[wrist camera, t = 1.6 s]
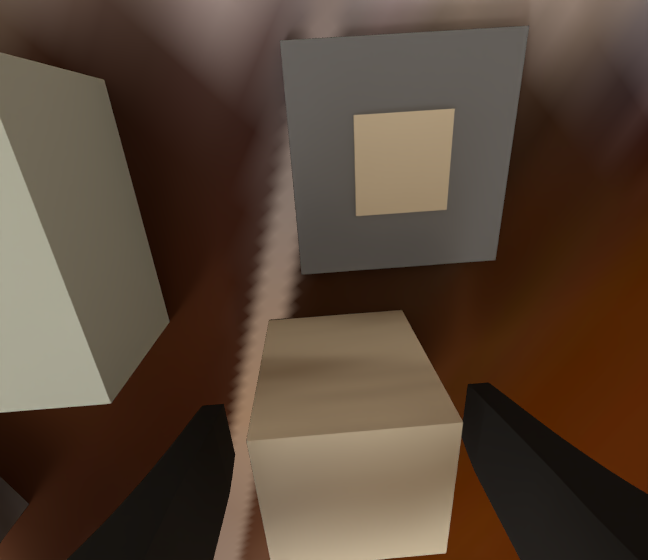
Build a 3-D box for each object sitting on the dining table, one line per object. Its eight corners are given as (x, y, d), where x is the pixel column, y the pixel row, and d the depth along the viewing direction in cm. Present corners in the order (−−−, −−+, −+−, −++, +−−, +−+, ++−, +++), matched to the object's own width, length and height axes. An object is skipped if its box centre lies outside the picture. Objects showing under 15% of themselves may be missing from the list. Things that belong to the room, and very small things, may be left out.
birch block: (398, 410, 14) (445, 553, 9) (283, 420, 13) (272, 569, 9) (401, 309, 12) (463, 422, 7) (269, 319, 12) (246, 441, 7)
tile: (489, 255, 11) (496, 261, 11) (301, 269, 11) (301, 275, 10) (519, 30, 9) (531, 24, 8) (281, 44, 9) (279, 39, 8)
